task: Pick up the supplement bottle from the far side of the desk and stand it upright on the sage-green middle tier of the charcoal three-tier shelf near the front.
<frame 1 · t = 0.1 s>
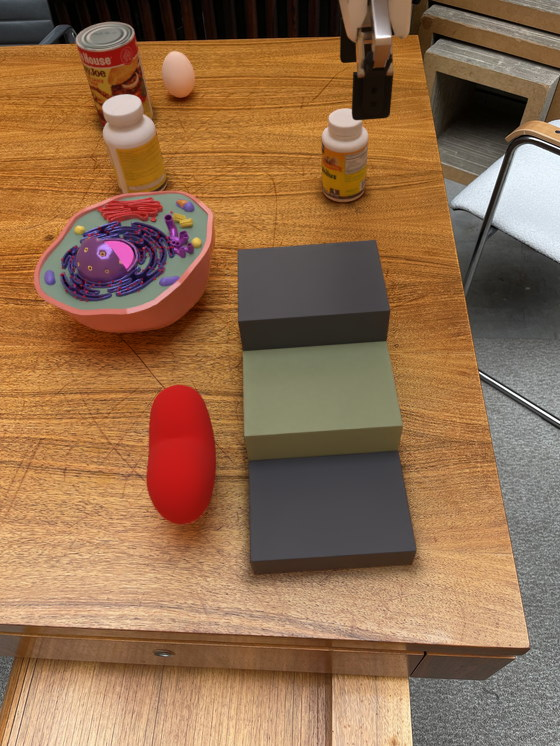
hand: (363, 87, 58), 21 cm above the table, tool pointing down, fingers open, 9 cm apart
canned food: (127, 119, 95), on the table
tiered shelf: (319, 429, 60), on the table
cell model: (146, 302, 72), on the table
kidney shaped pebble: (194, 490, 57), on the table
pill bottle: (144, 188, 84), on the table
egg: (182, 97, 98), on the table
supplement bottle: (343, 192, 82), on the table
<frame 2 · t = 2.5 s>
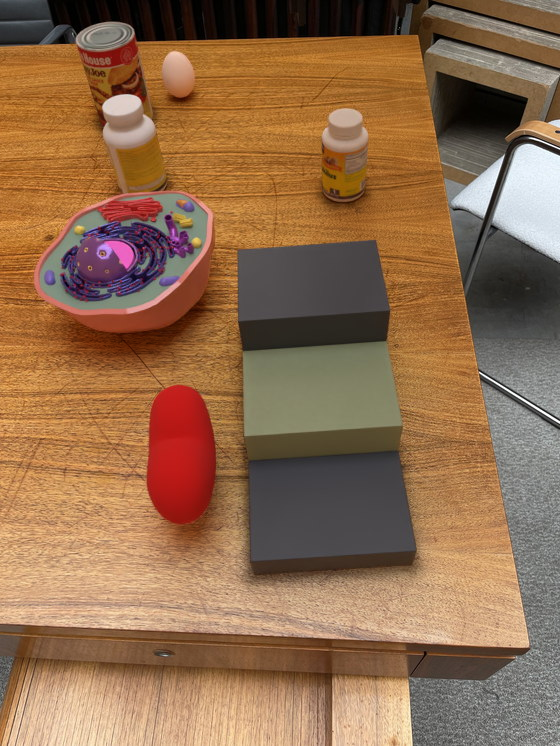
hand: (349, 15, 63), 22 cm above the table, tool pointing down, fingers open, 9 cm apart
nothing on the table moved.
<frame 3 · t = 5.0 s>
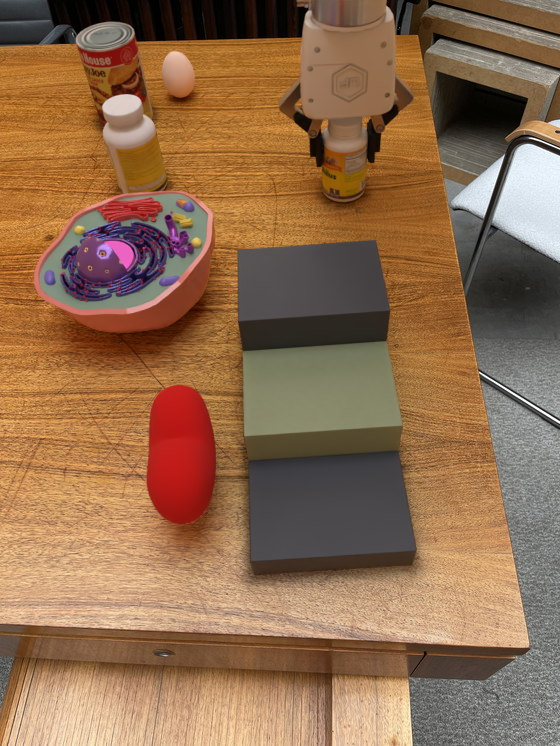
hand: (344, 157, 77), 5 cm above the table, tool pointing down, fingers closed on supplement bottle, 5 cm apart
supplement bottle: (343, 192, 82), on the table, touching gripper
everything else where it was.
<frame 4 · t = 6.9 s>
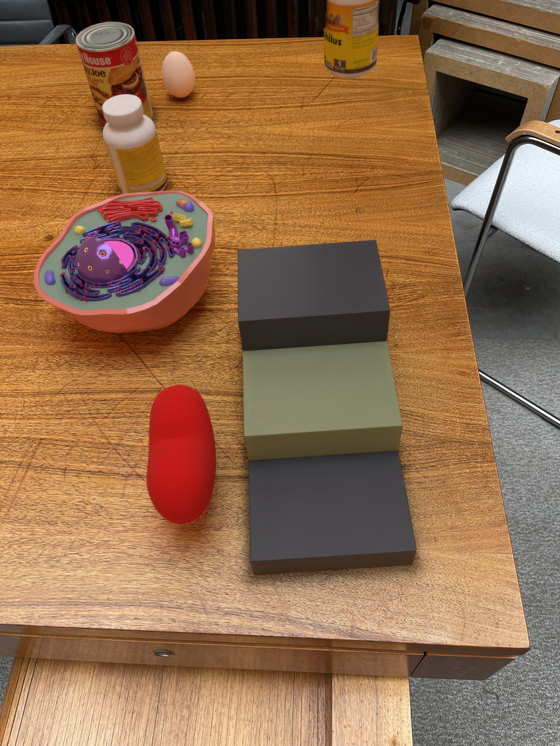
hand: (351, 19, 64), 21 cm above the table, tool pointing down, fingers closed on supplement bottle, 5 cm apart
supplement bottle: (350, 69, 68), point 16 cm above the table, touching gripper
everything else where it was.
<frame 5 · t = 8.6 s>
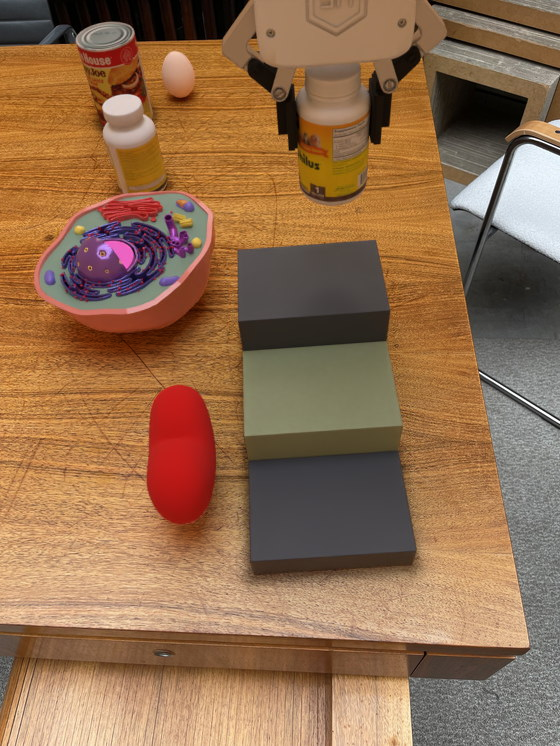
hand: (333, 135, 49), 23 cm above the table, tool pointing down, fingers closed on supplement bottle, 5 cm apart
supplement bottle: (332, 190, 53), point 18 cm above the table, touching gripper
everything else where it was.
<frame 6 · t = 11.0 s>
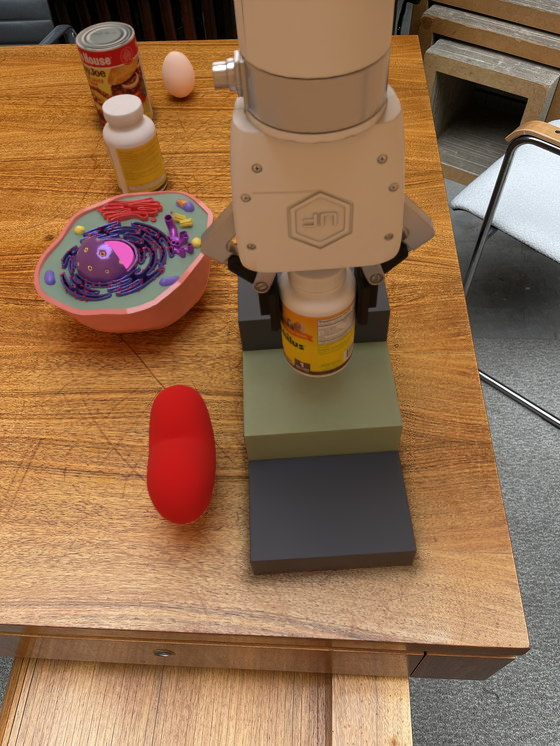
hand: (317, 312, 47), 16 cm above the table, tool pointing down, fingers closed on supplement bottle, 5 cm apart
supplement bottle: (318, 355, 51), point 11 cm above the table, touching gripper
everything else where it was.
when the fingers open (12 cm above the table, at t = 12.6 s): supplement bottle stays where it is, resting on tiered shelf.
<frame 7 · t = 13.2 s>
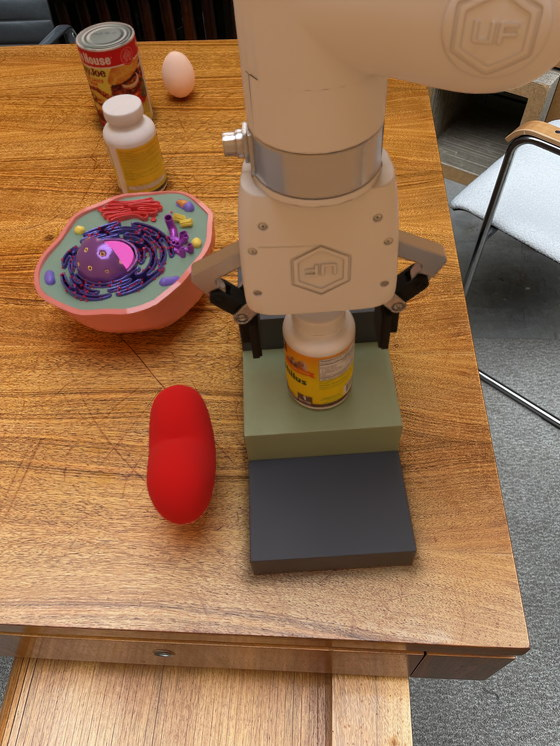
hand: (318, 339, 50), 13 cm above the table, tool pointing down, fingers open, 9 cm apart
supplement bottle: (319, 387, 55), point 7 cm above the table, touching tiered shelf
everything else where it was.
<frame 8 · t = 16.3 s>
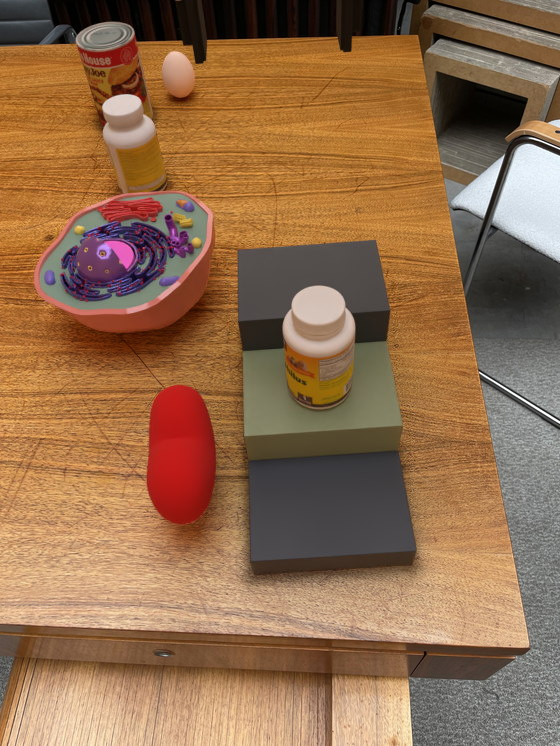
hand: (272, 48, 43), 30 cm above the table, tool pointing down, fingers open, 9 cm apart
nothing on the table moved.
at the end: supplement bottle inside the target area on the tiered shelf (0.1 cm from its centre), point 6.8 cm above the tiered shelf's base; supplement bottle tilted 0°; the gripper is holding nothing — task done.
